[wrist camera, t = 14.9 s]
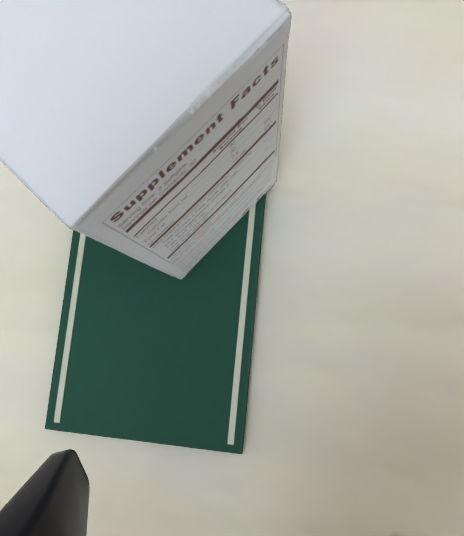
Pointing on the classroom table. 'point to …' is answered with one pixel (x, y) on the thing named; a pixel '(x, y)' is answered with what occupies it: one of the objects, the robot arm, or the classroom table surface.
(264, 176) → the white packaging box
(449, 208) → the classroom table surface
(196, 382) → the green mat
